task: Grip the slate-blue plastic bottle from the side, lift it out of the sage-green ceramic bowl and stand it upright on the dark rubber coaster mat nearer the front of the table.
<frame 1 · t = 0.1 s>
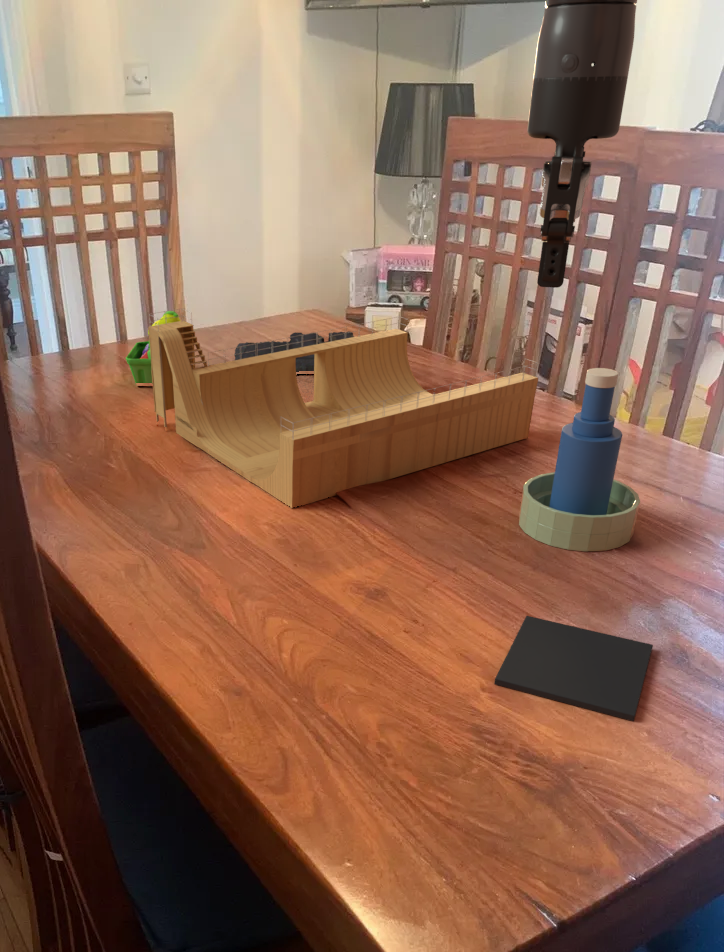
hand: (551, 277, 80), 27 cm above the table, tool pointing down, fingers open, 8 cm apart
bottle: (574, 526, 95), resting on bowl
skate ramp: (337, 434, 124), on the table
bowl: (573, 530, 96), on the table
fruit basket: (159, 380, 147), on the table
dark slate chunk: (296, 364, 154), on the table
mat: (574, 666, 74), on the table
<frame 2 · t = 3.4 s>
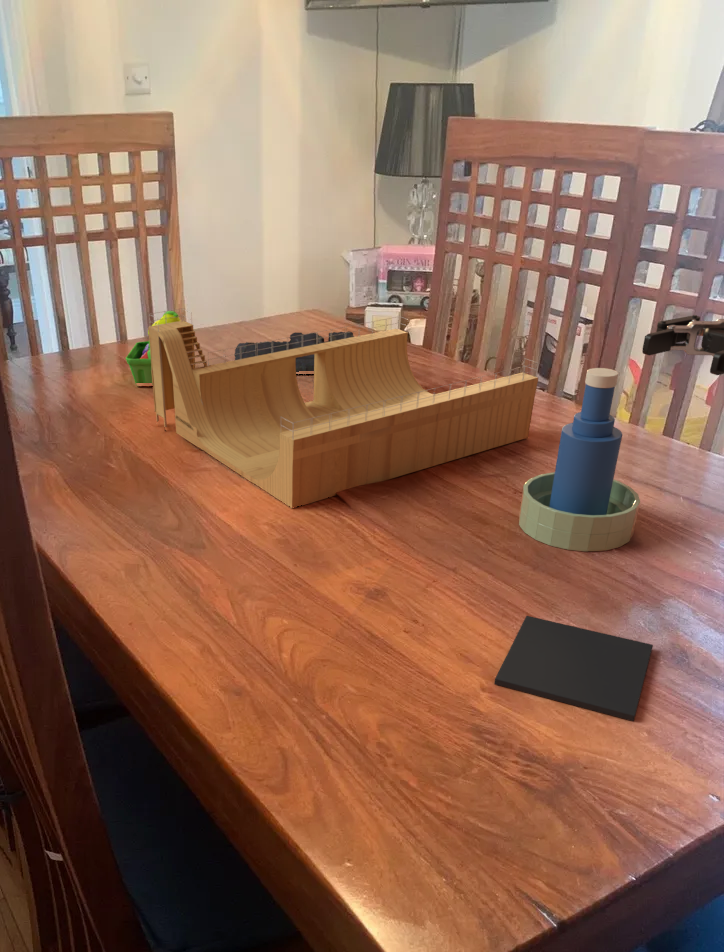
hand: (678, 354, 90), 18 cm above the table, tool horizontal, fingers open, 8 cm apart
nothing on the table moved.
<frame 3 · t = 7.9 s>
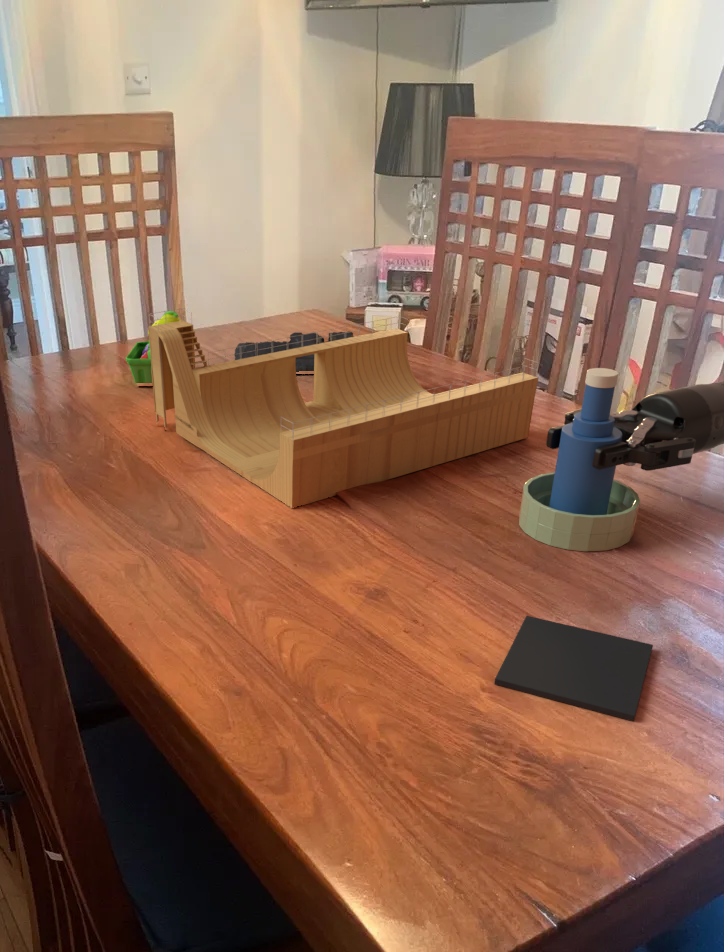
hand: (572, 448, 90), 10 cm above the table, tool horizontal, fingers closed on bottle, 6 cm apart
bottle: (574, 526, 95), point 1 cm above the table, touching bowl, gripper
everything else where it was.
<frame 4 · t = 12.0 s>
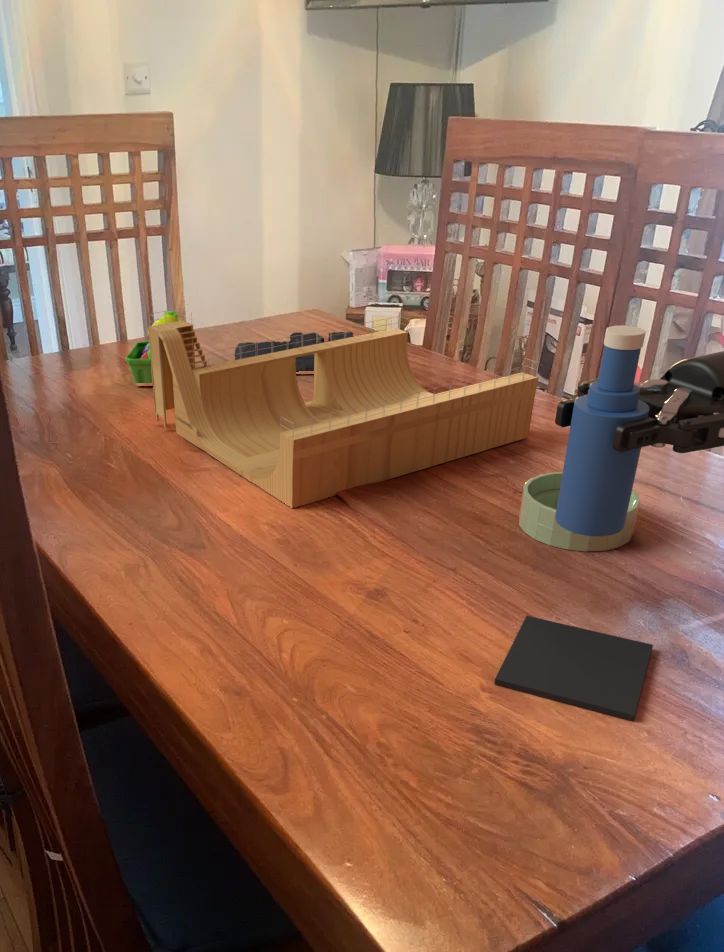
hand: (587, 426, 73), 18 cm above the table, tool horizontal, fingers closed on bottle, 6 cm apart
bottle: (589, 521, 79), point 8 cm above the table, touching gripper
everything else where it was.
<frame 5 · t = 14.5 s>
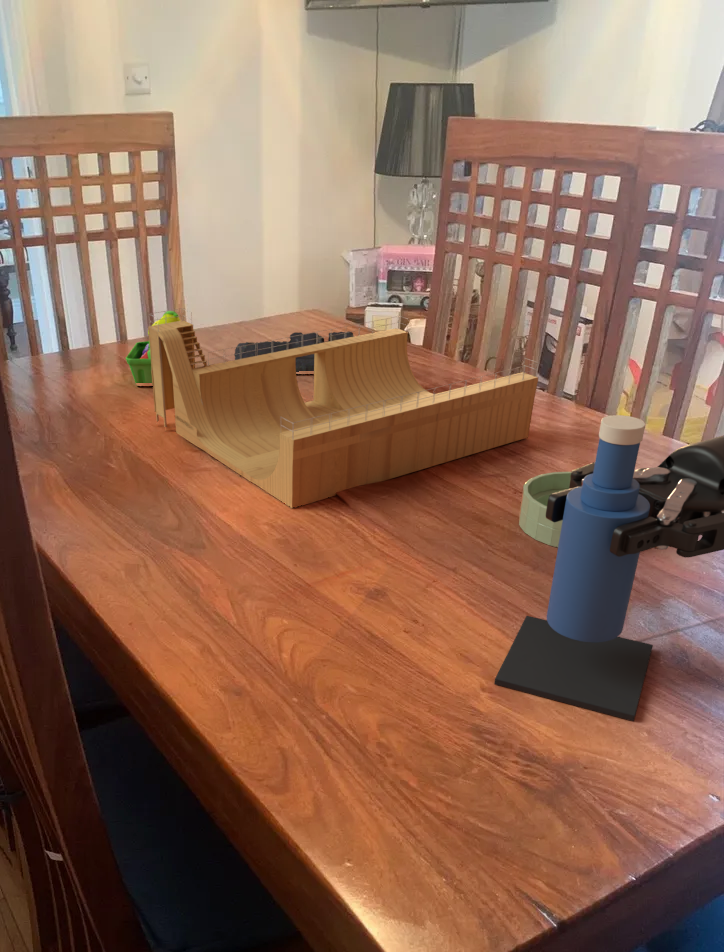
hand: (581, 525, 65), 14 cm above the table, tool horizontal, fingers closed on bottle, 6 cm apart
bottle: (584, 622, 71), point 5 cm above the table, touching gripper
everything else where it was.
when the fingers open (10 cm above the table, at t = 16.2 s): bottle stays where it is, resting on mat.
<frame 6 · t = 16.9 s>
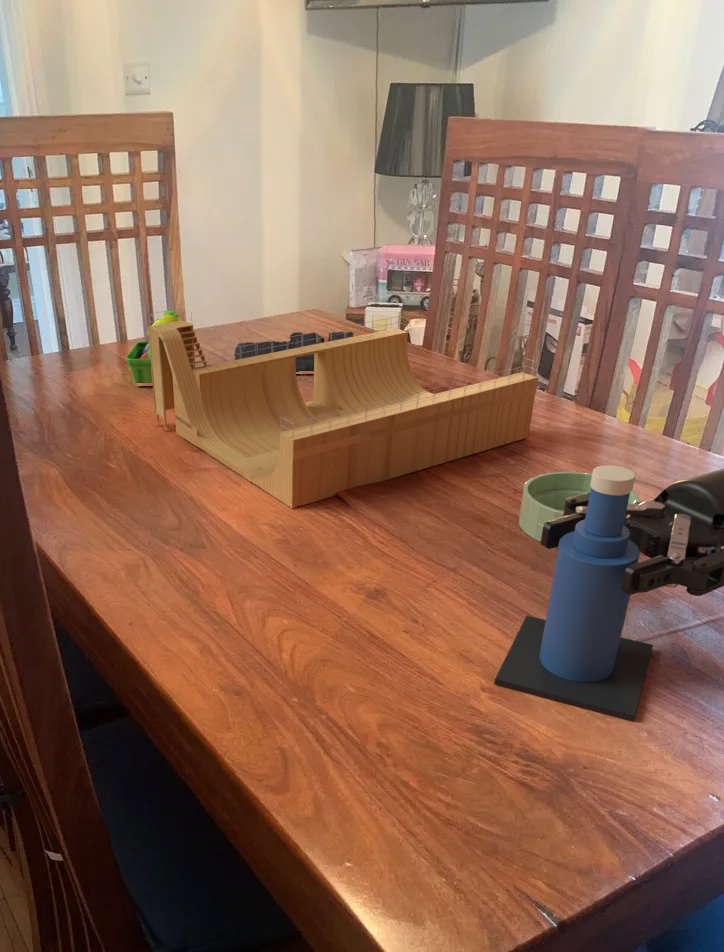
hand: (583, 557, 67), 11 cm above the table, tool horizontal, fingers open, 8 cm apart
bottle: (576, 661, 73), point 1 cm above the table, touching mat
everything else where it was.
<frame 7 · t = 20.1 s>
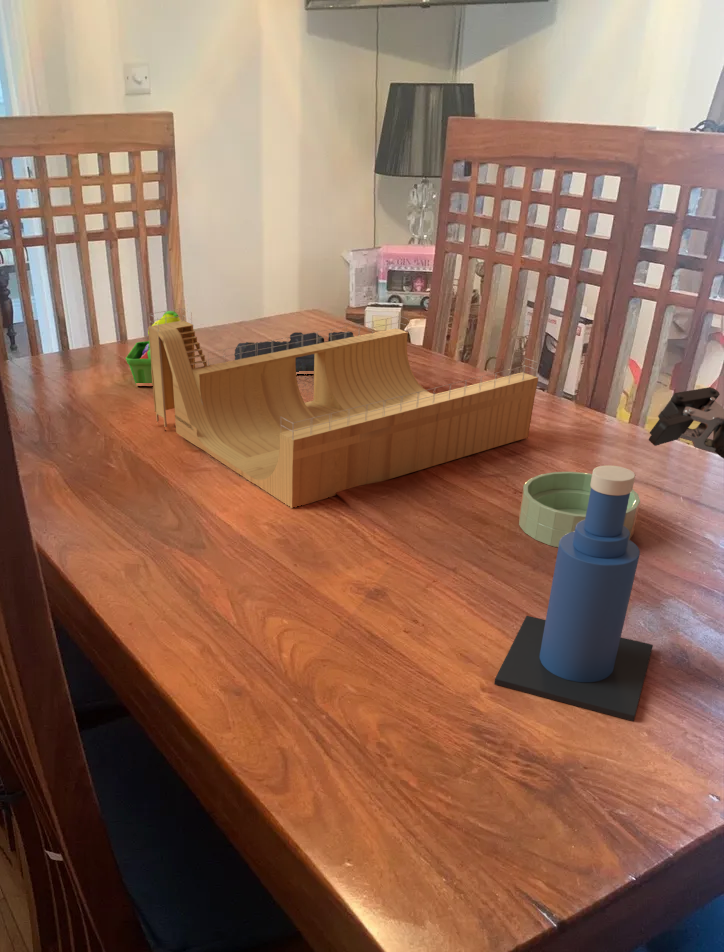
hand: (694, 467, 70), 16 cm above the table, tool horizontal, fingers open, 8 cm apart
nothing on the table moved.
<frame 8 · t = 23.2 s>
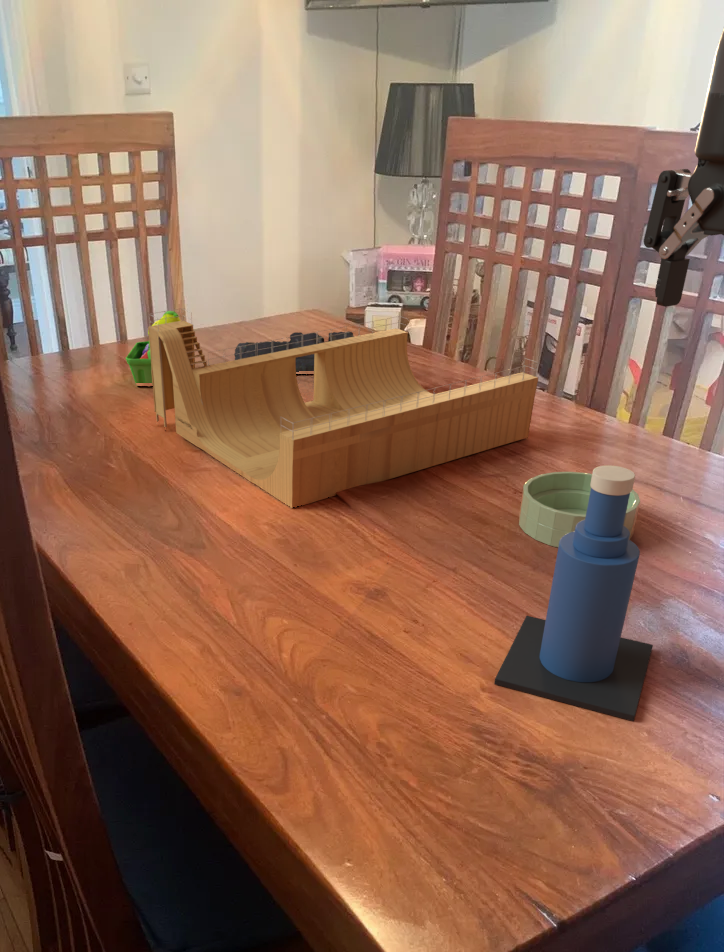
hand: (709, 315, 71), 26 cm above the table, tool pointing down, fingers open, 8 cm apart
nothing on the table moved.
at the end: bottle inside the target area on the mat (0.1 cm from its centre), point 0.6 cm above the mat's base; bottle tilted 0°; bottle touching mat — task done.
